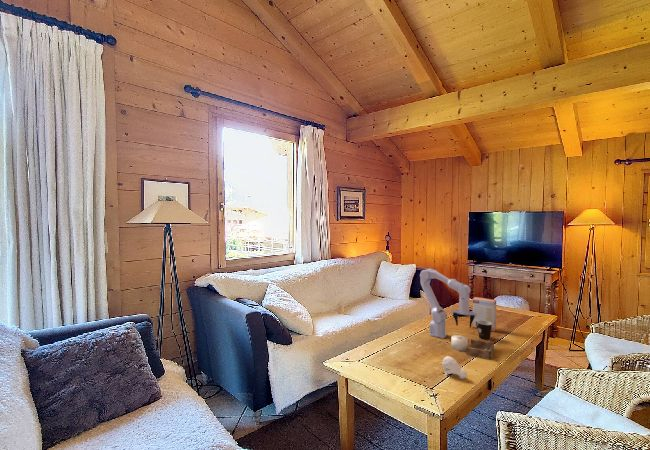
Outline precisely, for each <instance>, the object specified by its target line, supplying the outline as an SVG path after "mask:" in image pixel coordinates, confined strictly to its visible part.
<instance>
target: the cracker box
mask: <svg viewBox="0 0 650 450" xmlns="http://www.w3.org/2000/svg"><path fill="white" fill-rule="evenodd" d="M472 312H474V313H477V317H474V320H473V322H472V324H471V328H474V329H478V328H477V326H478V324H477V326H476V322H477V321H488V322H491V323H492V328H491V333H494V332H495V331H497V299H491V298H485V297H478V296H474V297H473V298H472Z"/></svg>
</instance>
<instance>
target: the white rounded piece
mask: <svg viewBox="0 0 650 450" xmlns="http://www.w3.org/2000/svg"><path fill="white" fill-rule="evenodd" d="M441 365H442V368H443V372H444V374H445V376H448V375H451V374H453V375H457V376H458V377H459V379H460V380H461V379H462V380H465V378H467V377H468V373H467V371H466V370H465V369H463V368H461V366H460V364H459V363H458V361H457V360H456V359H455V358H454V357H451V356H449V355H447V356H445V357H444V358H443V359H442V363H441Z"/></svg>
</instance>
